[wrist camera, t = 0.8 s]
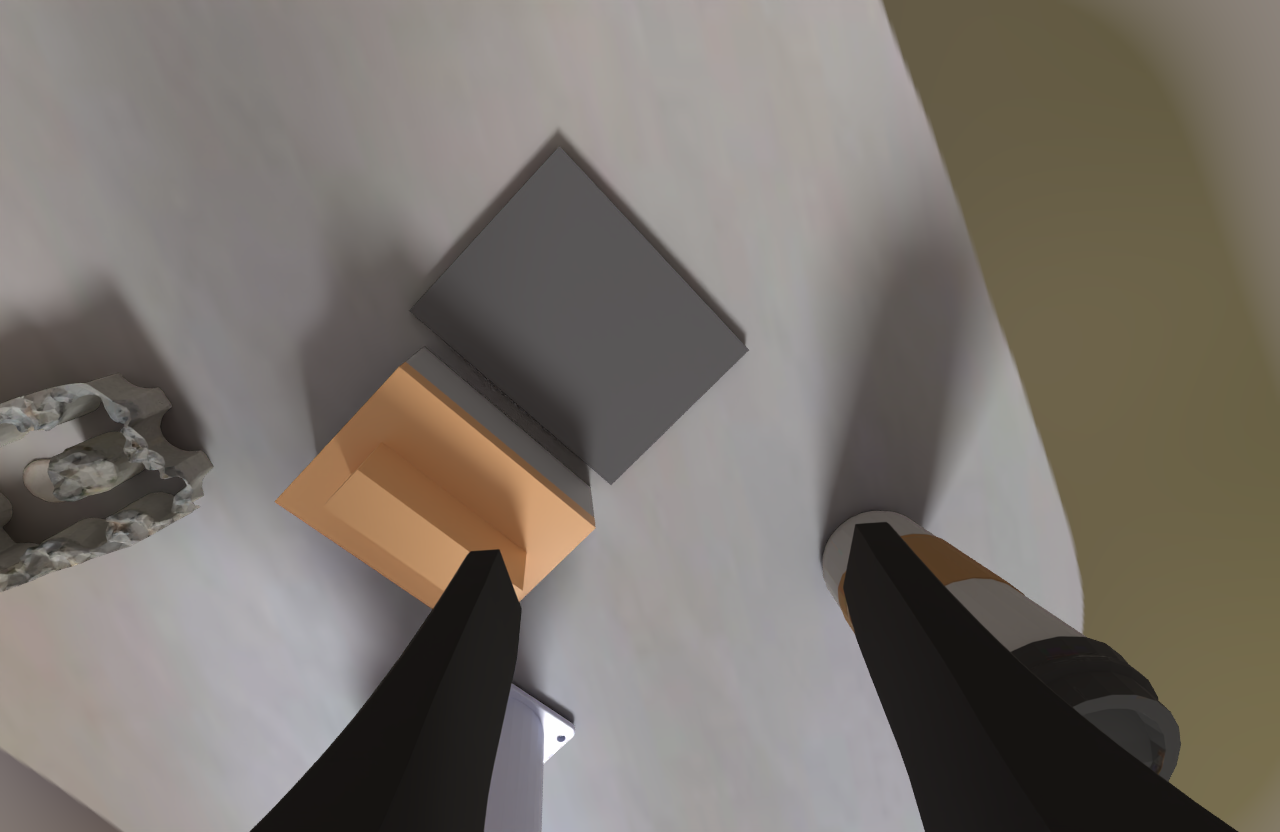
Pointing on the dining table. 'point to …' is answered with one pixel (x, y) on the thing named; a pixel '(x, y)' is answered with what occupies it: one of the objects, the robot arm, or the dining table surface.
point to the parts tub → (501, 427)
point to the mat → (580, 320)
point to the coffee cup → (1034, 642)
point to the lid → (433, 493)
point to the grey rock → (95, 473)
